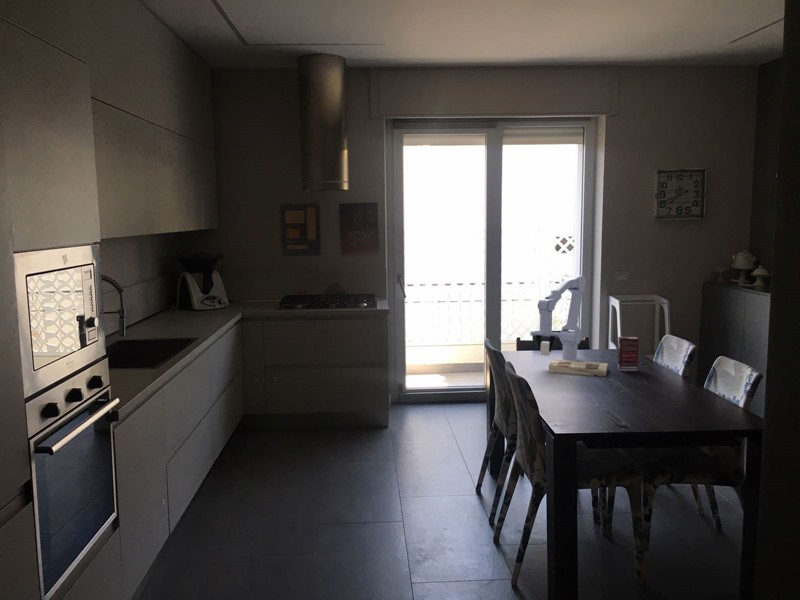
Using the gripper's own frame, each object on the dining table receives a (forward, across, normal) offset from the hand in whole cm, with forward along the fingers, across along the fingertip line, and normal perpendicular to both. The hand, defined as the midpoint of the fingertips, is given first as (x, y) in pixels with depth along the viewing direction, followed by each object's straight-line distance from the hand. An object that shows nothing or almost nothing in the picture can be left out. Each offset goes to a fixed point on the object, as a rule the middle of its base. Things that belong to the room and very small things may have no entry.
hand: (545, 350), depth 311 cm
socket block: (+9, +16, 0) cm, 18 cm away
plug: (+2, 0, 0) cm, 2 cm away
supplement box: (+9, +38, +9) cm, 40 cm away
